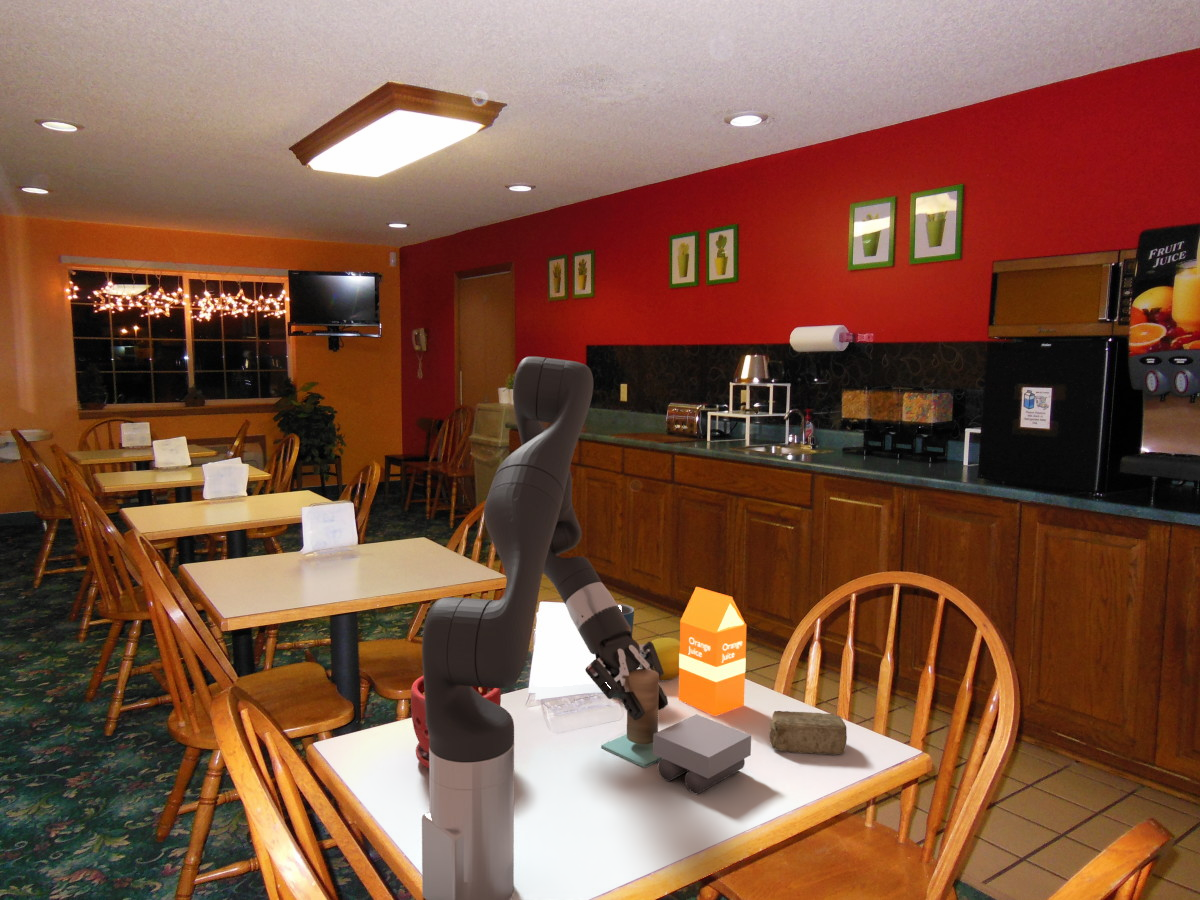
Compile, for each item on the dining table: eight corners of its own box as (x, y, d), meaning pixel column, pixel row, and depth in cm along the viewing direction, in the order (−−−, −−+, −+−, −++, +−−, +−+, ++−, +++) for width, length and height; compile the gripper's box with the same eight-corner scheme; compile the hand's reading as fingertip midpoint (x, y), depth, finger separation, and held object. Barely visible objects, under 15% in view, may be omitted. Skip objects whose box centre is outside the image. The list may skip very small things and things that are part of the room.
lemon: (678, 669, 162) (679, 629, 161) (697, 683, 155) (698, 641, 154) (627, 676, 158) (628, 635, 157) (645, 691, 151) (646, 648, 150)
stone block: (847, 758, 126) (849, 726, 125) (771, 754, 127) (772, 723, 126) (840, 741, 132) (841, 710, 131) (767, 738, 133) (767, 708, 132)
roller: (643, 747, 124) (644, 682, 123) (620, 736, 128) (621, 674, 127) (664, 737, 128) (665, 674, 127) (641, 727, 131) (642, 666, 130)
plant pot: (392, 769, 120) (391, 689, 119) (447, 734, 132) (447, 661, 131) (467, 790, 114) (467, 706, 113) (517, 751, 126) (517, 675, 125)
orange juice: (707, 689, 152) (710, 583, 150) (744, 705, 145) (748, 593, 143) (677, 700, 147) (680, 590, 145) (714, 716, 140) (717, 601, 138)
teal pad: (644, 767, 122) (644, 765, 121) (601, 747, 128) (601, 745, 128) (683, 748, 128) (683, 746, 128) (640, 730, 134) (640, 727, 134)
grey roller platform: (707, 799, 113) (708, 757, 112) (652, 773, 120) (653, 733, 119) (750, 774, 120) (751, 735, 119) (695, 751, 127) (696, 714, 126)
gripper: (576, 614, 126) (633, 714, 119) (639, 596, 136) (695, 688, 129) (553, 639, 130) (606, 737, 123) (616, 620, 140) (668, 710, 133)
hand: (651, 711), depth 126 cm, fingers closed on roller, 4 cm apart
